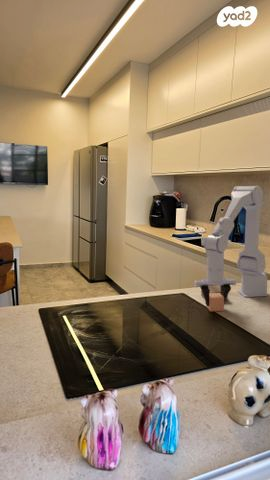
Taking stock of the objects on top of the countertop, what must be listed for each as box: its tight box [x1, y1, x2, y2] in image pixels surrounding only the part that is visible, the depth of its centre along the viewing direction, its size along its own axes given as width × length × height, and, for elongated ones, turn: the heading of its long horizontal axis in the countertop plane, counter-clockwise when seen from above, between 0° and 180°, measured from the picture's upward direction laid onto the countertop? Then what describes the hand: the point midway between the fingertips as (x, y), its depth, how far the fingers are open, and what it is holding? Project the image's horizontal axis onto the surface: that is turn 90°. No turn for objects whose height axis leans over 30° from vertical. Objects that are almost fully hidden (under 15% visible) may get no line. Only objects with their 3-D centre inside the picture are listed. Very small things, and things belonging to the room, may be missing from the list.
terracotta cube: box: [205, 293, 225, 312], centre depth 119 cm, size 5×5×5 cm
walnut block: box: [200, 285, 229, 302], centre depth 130 cm, size 8×8×4 cm
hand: (214, 304), depth 119 cm, fingers closed on terracotta cube, 5 cm apart
